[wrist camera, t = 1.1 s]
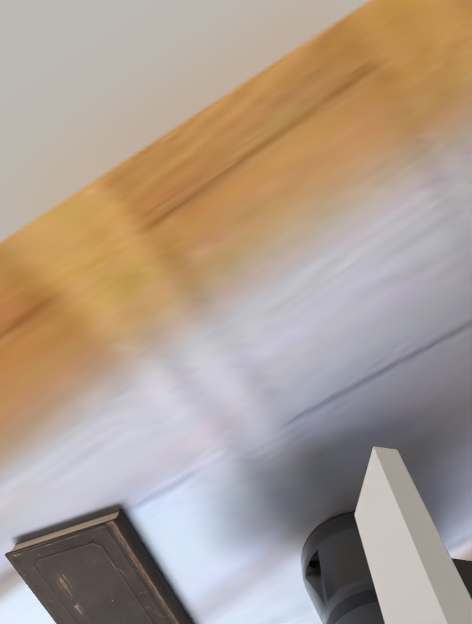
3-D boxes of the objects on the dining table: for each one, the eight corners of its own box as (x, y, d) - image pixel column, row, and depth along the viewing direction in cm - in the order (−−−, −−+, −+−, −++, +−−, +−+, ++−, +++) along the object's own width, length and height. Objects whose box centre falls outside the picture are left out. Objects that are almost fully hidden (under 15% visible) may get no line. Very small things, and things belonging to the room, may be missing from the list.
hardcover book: (99, 656, 63) (94, 674, 61) (14, 540, 57) (4, 555, 55) (200, 630, 61) (198, 647, 59) (122, 505, 54) (117, 519, 52)
